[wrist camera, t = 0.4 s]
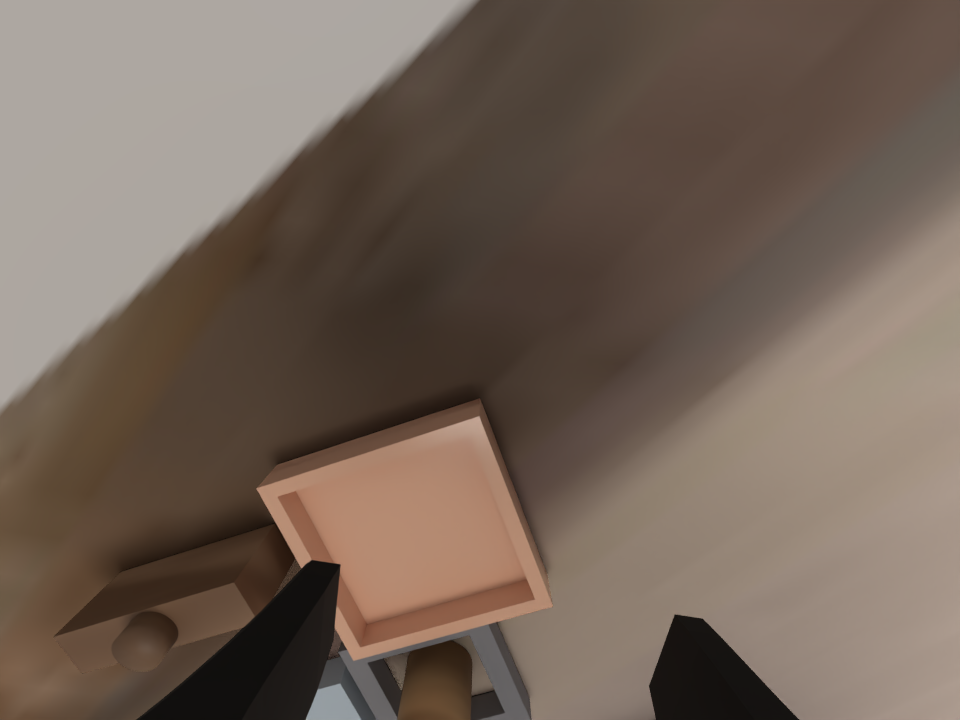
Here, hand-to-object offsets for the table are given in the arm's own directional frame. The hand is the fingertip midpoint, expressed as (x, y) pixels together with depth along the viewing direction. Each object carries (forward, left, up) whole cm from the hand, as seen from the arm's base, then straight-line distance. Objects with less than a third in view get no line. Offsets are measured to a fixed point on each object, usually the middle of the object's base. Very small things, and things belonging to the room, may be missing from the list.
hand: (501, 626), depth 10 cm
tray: (-3, +5, -10) cm, 11 cm away
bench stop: (-2, +15, -10) cm, 18 cm away
